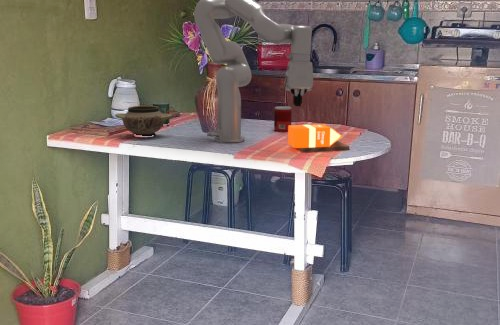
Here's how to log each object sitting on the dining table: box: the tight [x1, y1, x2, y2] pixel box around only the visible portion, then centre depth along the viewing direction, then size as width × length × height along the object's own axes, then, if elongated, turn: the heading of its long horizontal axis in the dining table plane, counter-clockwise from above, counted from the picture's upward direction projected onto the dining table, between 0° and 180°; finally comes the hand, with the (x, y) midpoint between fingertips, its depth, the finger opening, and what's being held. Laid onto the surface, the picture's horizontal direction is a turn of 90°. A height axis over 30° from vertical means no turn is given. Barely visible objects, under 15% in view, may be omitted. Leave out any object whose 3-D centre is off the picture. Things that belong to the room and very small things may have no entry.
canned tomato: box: [152, 101, 171, 124], centre depth 288 cm, size 8×8×11 cm
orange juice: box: [287, 123, 344, 149], centre depth 237 cm, size 8×9×20 cm
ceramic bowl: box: [114, 105, 173, 136], centre depth 259 cm, size 24×18×15 cm
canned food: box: [273, 105, 293, 133], centre depth 277 cm, size 8×8×11 cm
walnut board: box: [294, 140, 350, 153], centre depth 241 cm, size 20×16×2 cm
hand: (297, 105), depth 234 cm, fingers closed
